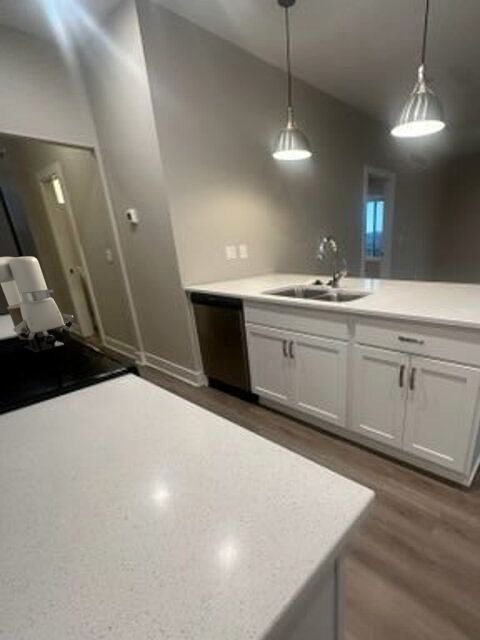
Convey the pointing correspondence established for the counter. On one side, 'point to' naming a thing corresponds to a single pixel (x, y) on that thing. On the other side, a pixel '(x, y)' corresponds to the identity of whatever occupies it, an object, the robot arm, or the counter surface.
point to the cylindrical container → (11, 292)
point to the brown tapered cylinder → (19, 320)
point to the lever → (49, 338)
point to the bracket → (43, 343)
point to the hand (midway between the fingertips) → (52, 345)
